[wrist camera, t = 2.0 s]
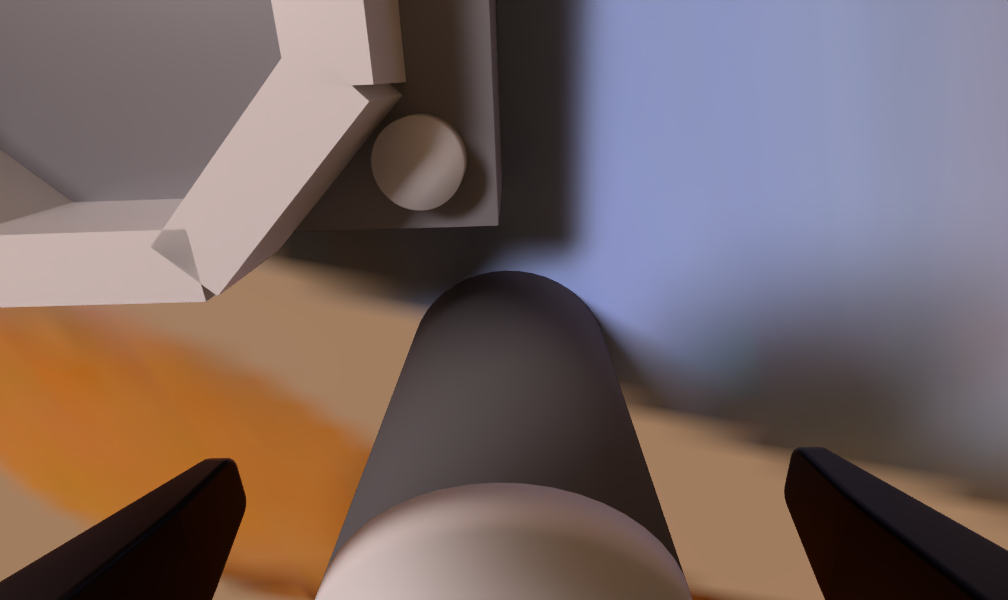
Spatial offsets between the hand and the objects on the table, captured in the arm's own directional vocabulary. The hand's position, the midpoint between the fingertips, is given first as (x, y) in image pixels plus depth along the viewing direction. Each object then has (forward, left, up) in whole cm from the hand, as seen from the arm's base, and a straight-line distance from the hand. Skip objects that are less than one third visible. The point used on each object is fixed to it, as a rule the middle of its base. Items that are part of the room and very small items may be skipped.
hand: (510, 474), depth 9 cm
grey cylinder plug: (0, 0, -4) cm, 4 cm away
